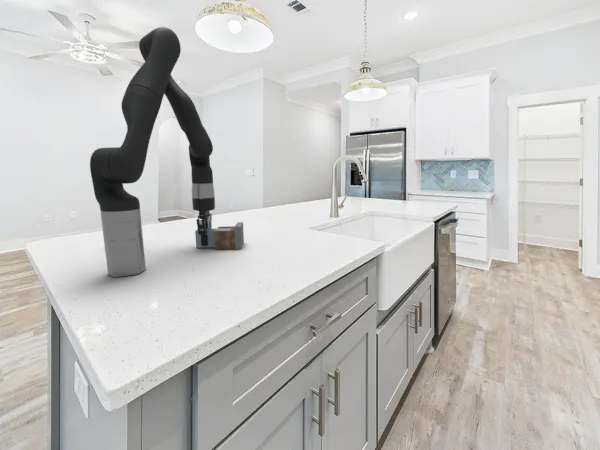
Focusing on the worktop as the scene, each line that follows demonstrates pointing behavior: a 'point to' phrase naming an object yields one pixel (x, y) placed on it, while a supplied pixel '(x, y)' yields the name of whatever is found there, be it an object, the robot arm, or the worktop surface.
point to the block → (225, 238)
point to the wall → (239, 235)
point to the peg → (210, 237)
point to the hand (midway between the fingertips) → (206, 243)
